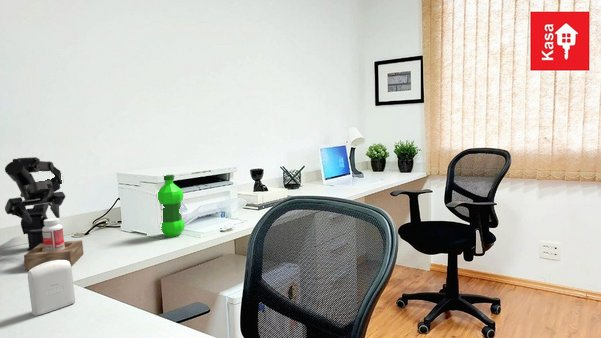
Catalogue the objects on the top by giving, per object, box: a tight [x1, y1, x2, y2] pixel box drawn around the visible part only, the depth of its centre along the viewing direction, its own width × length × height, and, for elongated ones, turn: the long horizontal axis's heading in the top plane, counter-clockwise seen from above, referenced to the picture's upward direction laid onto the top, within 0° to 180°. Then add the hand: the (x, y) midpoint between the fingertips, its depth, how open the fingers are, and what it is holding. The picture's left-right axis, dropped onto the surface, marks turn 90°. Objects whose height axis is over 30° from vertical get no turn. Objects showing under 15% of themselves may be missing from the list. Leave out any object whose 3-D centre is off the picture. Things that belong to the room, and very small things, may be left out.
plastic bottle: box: [157, 174, 186, 238], centre depth 182 cm, size 10×10×25 cm
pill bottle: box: [42, 217, 65, 252], centre depth 153 cm, size 6×6×11 cm
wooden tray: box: [23, 239, 85, 271], centre depth 153 cm, size 14×14×5 cm
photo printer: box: [27, 260, 76, 316], centre depth 114 cm, size 10×4×12 cm, turn 140°
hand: (45, 220), depth 157 cm, fingers open, 9 cm apart
